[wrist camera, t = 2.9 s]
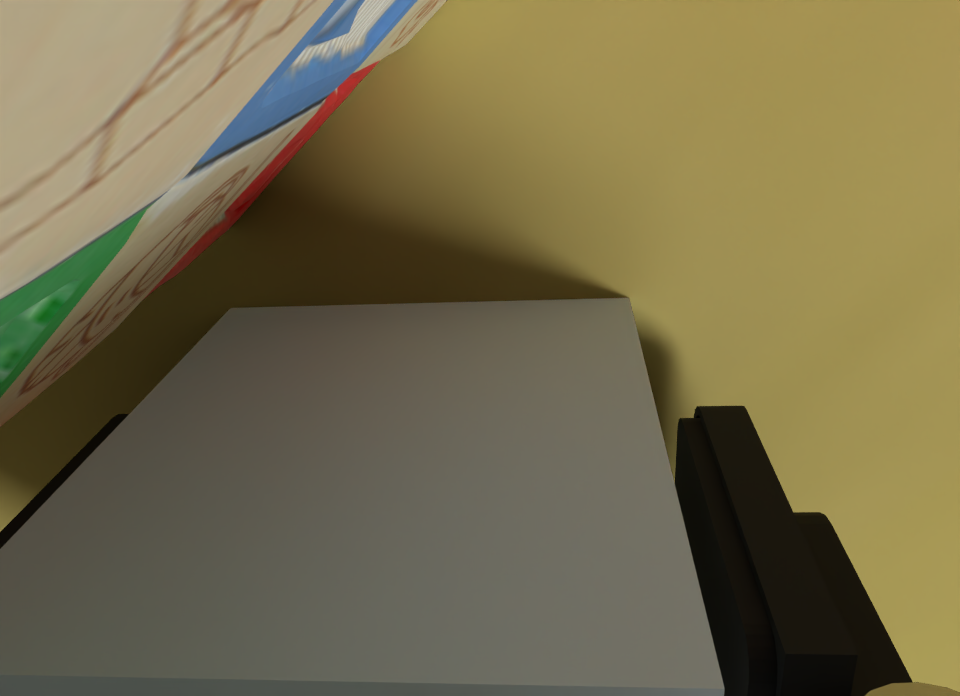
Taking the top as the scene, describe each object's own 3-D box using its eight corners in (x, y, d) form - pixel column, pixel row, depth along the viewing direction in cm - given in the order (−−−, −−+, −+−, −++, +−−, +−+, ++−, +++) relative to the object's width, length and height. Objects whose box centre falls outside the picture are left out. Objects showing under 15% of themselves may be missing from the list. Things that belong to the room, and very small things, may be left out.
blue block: (232, 306, 10) (-120, 672, 5) (628, 297, 10) (723, 690, 4) (291, 610, 12) (92, 1104, 7) (622, 614, 12) (683, 1146, 7)
